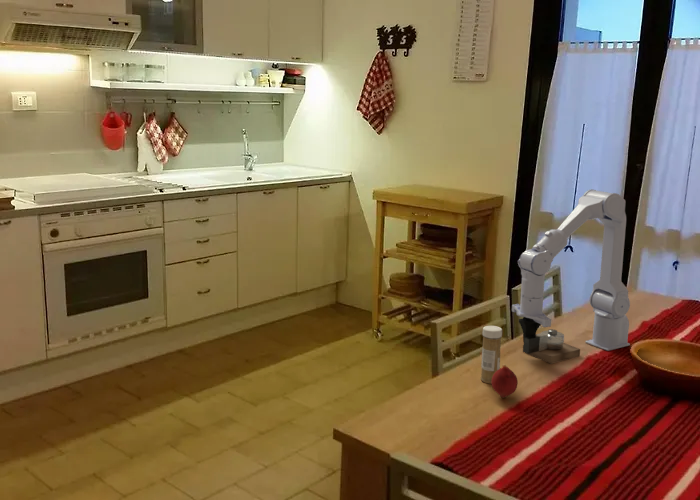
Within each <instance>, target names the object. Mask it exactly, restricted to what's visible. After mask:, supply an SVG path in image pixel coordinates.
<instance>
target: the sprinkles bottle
mask: <svg viewBox="0 0 700 500" xmlns="http://www.w3.org/2000/svg"><path fill="white" fill-rule="evenodd" d="M482 337H483V338H482V347H481V349H482V350H481V366H480V367H481V373H480V380H481V381H482V382H484V383H485V384H491V380H492V377H493V375H494V373H495V372H496V371H497V370H499V369H500V368H501V367H500V366H501V340H502V337H503V329H502V328H501V327H499V326H496V325H486V326H484V327H483V328H482ZM491 385H492V384H491Z"/></svg>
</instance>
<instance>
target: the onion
mask: <svg viewBox="0 0 700 500" xmlns="http://www.w3.org/2000/svg"><path fill="white" fill-rule="evenodd" d="M491 387H492V388H493V390H494V391H495V392H496V393H497V394H498V395H499V396H500V397H501V398H503V399H505V398H507V397H508V396H511V395H512V394H513V393H515V392H516V390H517V388H518V378H517V375H516V374H515V372H514V371H513V370H511V369H510V368H509V367H508V366H507V364H505V363H502V367H500V369H499V370H497V371H496V372H495V373H494V375H493V377H492V380H491Z"/></svg>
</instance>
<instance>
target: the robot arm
mask: <svg viewBox="0 0 700 500" xmlns="http://www.w3.org/2000/svg"><path fill="white" fill-rule="evenodd" d="M595 219H598V220H599V221H600V222H601V223H603V236H602V248H601V261H600V276H599V280H597V281H596V282H594V284H593V285H592V286H593V287H592V291H591V294H589V295H590V296H589V305H590V306H591V307H592V312H594V315H593V316H594V319H593V327H592V328H593V329H592V339H588V340H585V344H587V345H591V346H594V347H596V348H598V349H602V350H605V351H607V352H610V351H613V350H616V349H620V348H624V347H628V346H630V345H631V344H630V342H628V339H629V338H628V337H629V328H630V320H629V318H628V316H627V313H629V309H630V306H631V301H630V298H629V290H628V288H627V287H626V285H625V284H624V282H622V276H623V275H622V273H623V265H624V263H623V262H624V253H625V252H624V251H625V250H624V249H625V240H626V227H627V214H626V199H624V197H622V196H621V195H620V194H619V193H617V192H616V193H615V192H607V191H602V190H596V189H587V191H585V192H584V194H583V195H581V197H579V198H578V203H577V205H576V206H575V208H573V210H572V211H571V213H570V214H569V215H568V216H567V217H566V218H565V219H564V220H563V222H562V223H561V224H560V225H559V226H558V228H557V229H555V228H554V229H552V228H551V229H549V230H547V231H545V232H544V235H543V236H542V237H541V239H540V240H539V241H537V243H536V244H534V245H533V246H532V248H530V249H529V248H528V249H526V250H525V251H524V252H522V253H521V254H520V256H519V259H518V260H517V264H518V265H517V266H518V267H519V268H520V275H521V287H520V288H521V289H520V304H519V303H516V304H512V305H511V312H513V313H516V316H518V317H520V318H519V319H518V323H519V325H520V327H521V330H522V335H523V336H522V338H523V339H522V341H523V343H524V337H528V336H532V335H536V334H537V331H538V329H539V328H540V326H541V327H543V328H548V327H549V328H550V327H551V326H552V319H551V318H549V317H548V316H547V315H546V313H544V311H543V307H544V294H545V293H544V292H545V277H546V273H547V272H550V271H549V270H550V269H551V266H552V263H553V261H554V259H555V257H556V256H558V254H559V253H560V252H561V251H562V250H564V248H565V247H567V245H568V238H569V237H570V236H571V235H573V233H574V232H576V231H577V230H578V229H579V228H580V227H582V226H583V224H585V223H586V222H587V221H589V220H595Z"/></svg>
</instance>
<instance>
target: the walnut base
mask: <svg viewBox="0 0 700 500" xmlns="http://www.w3.org/2000/svg"><path fill="white" fill-rule="evenodd" d="M523 347H524V344H523V345H522V348H523ZM528 355H529V356H531V357H533V358H536V359H538V360H541V361H543V362H546V363H548V364H550V365H551V364H555V363H559V362H562V361H566V360H570V359H574V358H579V357H580V356H581V348H578V347H576V346H573V345H571V344H567V343H566V342H564V343H563V348H562V349H545V350H541V351H537V352H534V353H530V354H528Z"/></svg>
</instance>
